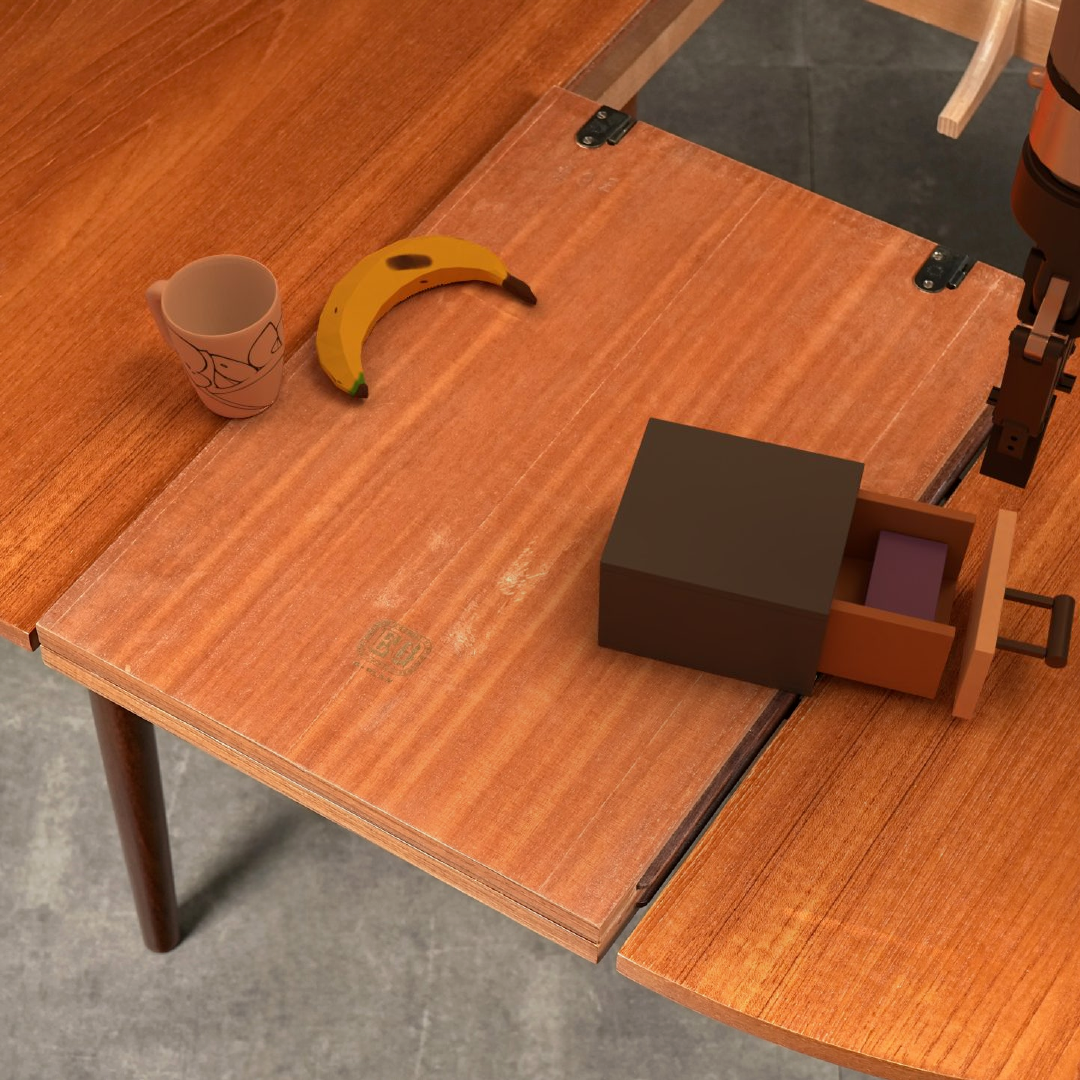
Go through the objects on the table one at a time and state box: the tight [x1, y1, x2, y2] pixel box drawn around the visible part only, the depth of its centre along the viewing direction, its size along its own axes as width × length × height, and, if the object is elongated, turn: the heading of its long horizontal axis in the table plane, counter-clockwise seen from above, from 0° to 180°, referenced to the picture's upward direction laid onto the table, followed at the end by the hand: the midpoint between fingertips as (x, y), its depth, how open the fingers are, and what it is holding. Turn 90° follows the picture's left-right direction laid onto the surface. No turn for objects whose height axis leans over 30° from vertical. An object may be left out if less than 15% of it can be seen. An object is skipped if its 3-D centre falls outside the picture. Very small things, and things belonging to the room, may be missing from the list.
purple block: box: [863, 530, 948, 622], centre depth 112 cm, size 4×8×4 cm, turn 164°
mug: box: [144, 253, 285, 419], centre depth 125 cm, size 11×8×10 cm
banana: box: [314, 233, 538, 399], centre depth 131 cm, size 5×17×15 cm
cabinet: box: [597, 416, 866, 698], centre depth 113 cm, size 15×13×10 cm
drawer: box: [817, 488, 1076, 720], centre depth 111 cm, size 18×11×8 cm, turn 73°
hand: (1005, 472), depth 98 cm, fingers closed
